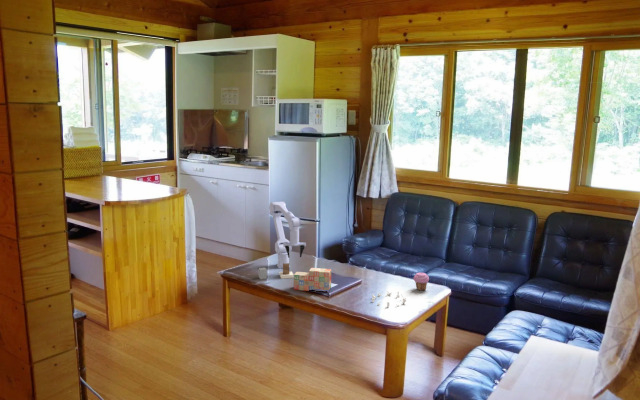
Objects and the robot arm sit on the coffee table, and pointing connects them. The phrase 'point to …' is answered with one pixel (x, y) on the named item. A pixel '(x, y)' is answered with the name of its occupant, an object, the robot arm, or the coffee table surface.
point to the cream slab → (286, 275)
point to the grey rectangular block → (262, 273)
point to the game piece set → (388, 295)
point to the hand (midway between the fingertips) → (294, 257)
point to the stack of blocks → (313, 279)
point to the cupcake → (421, 281)
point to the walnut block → (285, 268)
